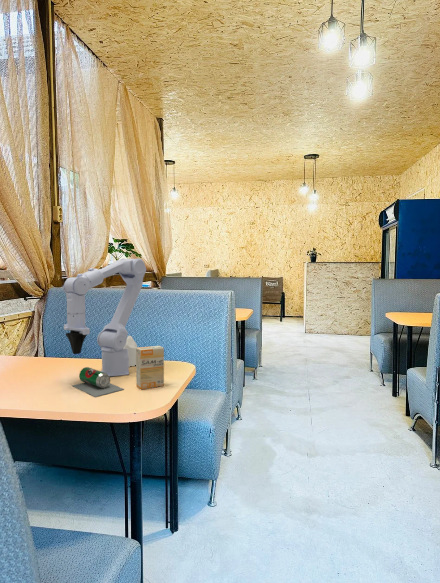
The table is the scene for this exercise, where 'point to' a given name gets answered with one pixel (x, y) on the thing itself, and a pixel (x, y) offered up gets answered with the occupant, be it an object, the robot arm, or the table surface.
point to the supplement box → (149, 367)
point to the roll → (131, 350)
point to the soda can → (94, 377)
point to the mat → (97, 389)
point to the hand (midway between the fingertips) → (76, 353)
